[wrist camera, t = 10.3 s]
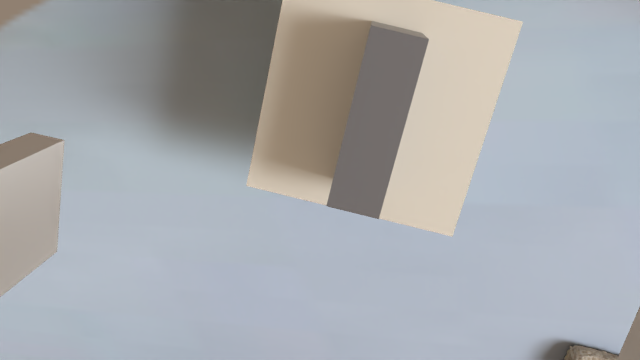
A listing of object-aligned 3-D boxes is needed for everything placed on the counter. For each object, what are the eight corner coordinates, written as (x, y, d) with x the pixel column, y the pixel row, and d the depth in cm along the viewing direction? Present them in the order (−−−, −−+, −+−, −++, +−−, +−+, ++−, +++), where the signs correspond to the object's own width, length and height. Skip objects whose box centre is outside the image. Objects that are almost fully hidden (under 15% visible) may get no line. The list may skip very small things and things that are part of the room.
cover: (251, 178, 31) (227, 213, 26) (292, -33, 28) (274, -39, 23) (449, 227, 31) (463, 271, 26) (517, 20, 28) (547, 26, 23)
